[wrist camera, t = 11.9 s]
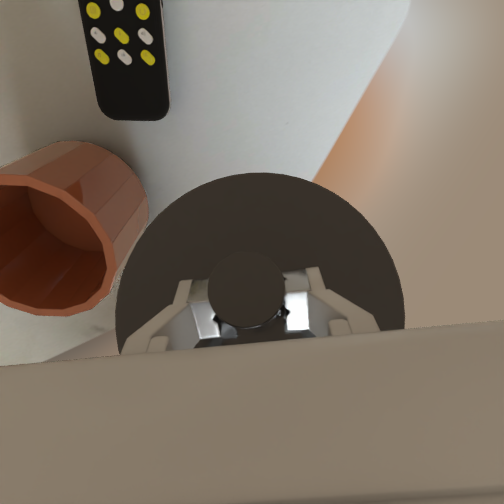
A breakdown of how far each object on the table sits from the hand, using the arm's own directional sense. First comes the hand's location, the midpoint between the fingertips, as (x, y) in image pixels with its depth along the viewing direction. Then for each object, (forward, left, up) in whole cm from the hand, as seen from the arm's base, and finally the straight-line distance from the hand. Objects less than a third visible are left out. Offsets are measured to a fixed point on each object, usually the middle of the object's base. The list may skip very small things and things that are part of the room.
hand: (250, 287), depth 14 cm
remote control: (+4, +13, -22) cm, 26 cm away
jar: (-12, +13, -22) cm, 28 cm away
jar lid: (-2, -1, -2) cm, 3 cm away
